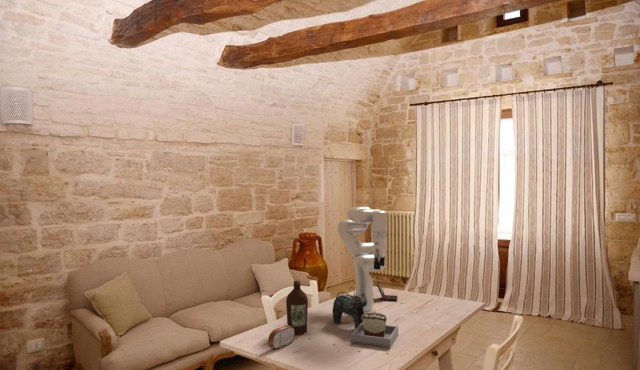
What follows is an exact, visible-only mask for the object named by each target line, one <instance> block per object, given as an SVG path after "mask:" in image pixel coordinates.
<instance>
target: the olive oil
mask: <svg viewBox="0 0 640 370" xmlns="http://www.w3.org/2000/svg"><path fill="white" fill-rule="evenodd" d="M285 304H286V323H287V324H286V325H289V326H291V327H293V328H294V330H295V335H294V336H302V335H304V333H305V334H306V333H308V331H307V330H308V307H309V306H308V305H309V299H308V295H307V294H306V293H305V292H304V291H303V290H302V287H301V280H299V279H296V280H295V279H294V280H293V289H292V290H291V291H290V292H289V293H288V294H287V296H286V300H285ZM301 334H302V335H301Z"/></svg>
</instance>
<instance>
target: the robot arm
mask: <svg viewBox="0 0 640 370" xmlns="http://www.w3.org/2000/svg"><path fill="white" fill-rule="evenodd" d="M346 216H347V218H348V219H343V220H340V221H339V222H338V224H337V232H338V235H339V237H340V239H341V241H342V242H343V243H344V245H346V247H347V250H348V251H349V253H350V254H351V257H352V258H353V259H354V260H353V263H354V264H353V265H354V266H353V267H354V271H355V294H356V293H357V294H358V295H361V294H363V293H364V294H365V297H366V298H367V305H366V306H365V307H363V311H364V314H366V313H377V311H376V308H375V307H374V281H373V277H372V276H371V275H370V273H372V272H382V271H384V269H385V268H386V260H385V256H386V255H387V241H386V239H387V235H388V233H387V227H388V226H387V212H386V211H385V210H381V209H379V208H378V209H375V208H374V209H371V208H370V207H369V206H353V207H351V208H349V209H347V213H346ZM370 224H371V238H373V242H362V241H361V240H360V238H359V237H358V236H357V235H355V234H363V233H365V232H366V231H367V229H368V228H369V225H370Z"/></svg>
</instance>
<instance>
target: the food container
mask: <svg viewBox="0 0 640 370" xmlns="http://www.w3.org/2000/svg"><path fill="white" fill-rule="evenodd" d="M361 319H362V320H363V329H364V335H367V336H375V337H383V338H384V337H385V327H386V325H387V323H388V318H387V316H386V314H384V313H379V312H375V313H366V314H363V315H362V317H361Z"/></svg>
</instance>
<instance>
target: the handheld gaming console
mask: <svg viewBox="0 0 640 370" xmlns="http://www.w3.org/2000/svg"><path fill="white" fill-rule="evenodd" d="M376 287H377V288H378V292H379V293H380V297H381V300H382V302H394V303H396V302H397V303H398V295H394V294H393V295H392V294H385V291H384V290H383V287H382V284H381V282H380V281H378V282H377V283H376Z"/></svg>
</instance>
